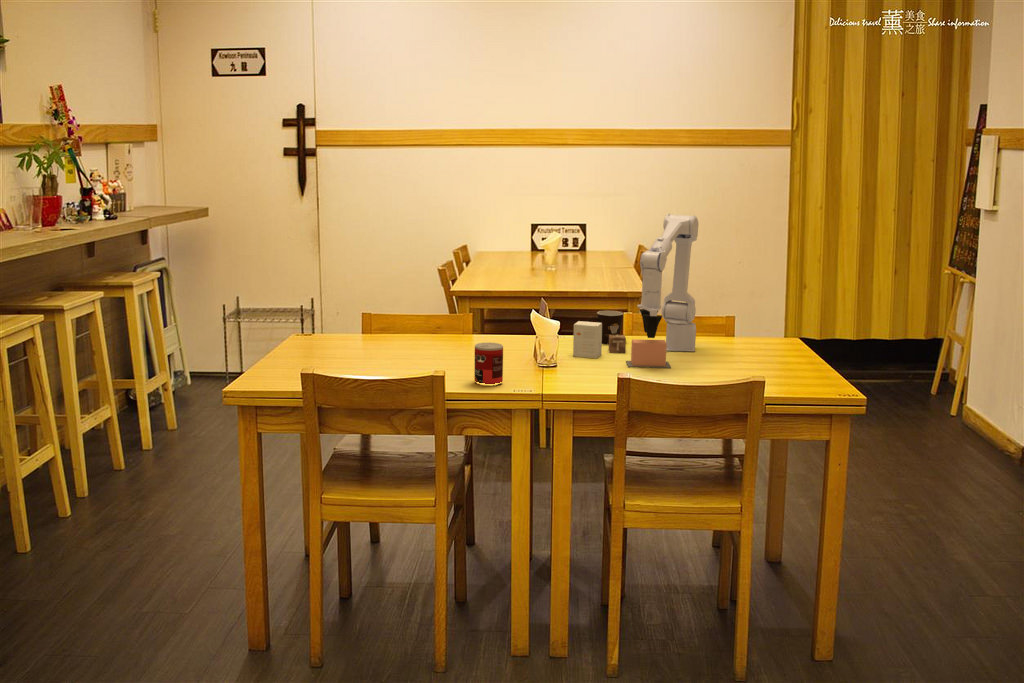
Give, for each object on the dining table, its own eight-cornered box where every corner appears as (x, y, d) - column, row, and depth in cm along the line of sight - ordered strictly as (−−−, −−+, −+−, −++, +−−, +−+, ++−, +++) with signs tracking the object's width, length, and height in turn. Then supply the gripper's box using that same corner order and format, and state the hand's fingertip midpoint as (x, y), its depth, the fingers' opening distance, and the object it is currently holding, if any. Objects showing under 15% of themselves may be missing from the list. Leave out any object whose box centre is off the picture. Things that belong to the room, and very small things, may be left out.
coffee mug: (621, 340, 351) (623, 311, 349) (622, 345, 343) (623, 316, 341) (587, 338, 352) (588, 310, 350) (586, 344, 344) (587, 314, 342)
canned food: (473, 379, 297) (474, 342, 294) (501, 379, 297) (502, 342, 295) (475, 386, 289) (475, 348, 287) (503, 386, 290) (504, 348, 287)
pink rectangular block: (663, 362, 320) (664, 339, 318) (665, 366, 315) (666, 343, 313) (630, 361, 320) (631, 339, 318) (632, 365, 315) (633, 342, 313)
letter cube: (623, 350, 337) (624, 334, 336) (625, 353, 332) (626, 337, 331) (608, 349, 337) (609, 334, 336) (609, 353, 332) (610, 337, 331)
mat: (667, 362, 321) (667, 361, 320) (671, 368, 314) (671, 366, 314) (625, 361, 321) (625, 360, 321) (628, 367, 314) (628, 366, 314)
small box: (601, 355, 329) (602, 322, 327) (597, 358, 324) (598, 325, 322) (577, 352, 332) (578, 320, 330) (572, 356, 327) (573, 323, 324)
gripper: (635, 286, 319) (633, 329, 322) (640, 294, 305) (638, 340, 308) (658, 287, 319) (656, 330, 322) (664, 295, 305) (662, 340, 308)
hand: (649, 335), depth 315 cm, fingers open, 7 cm apart
